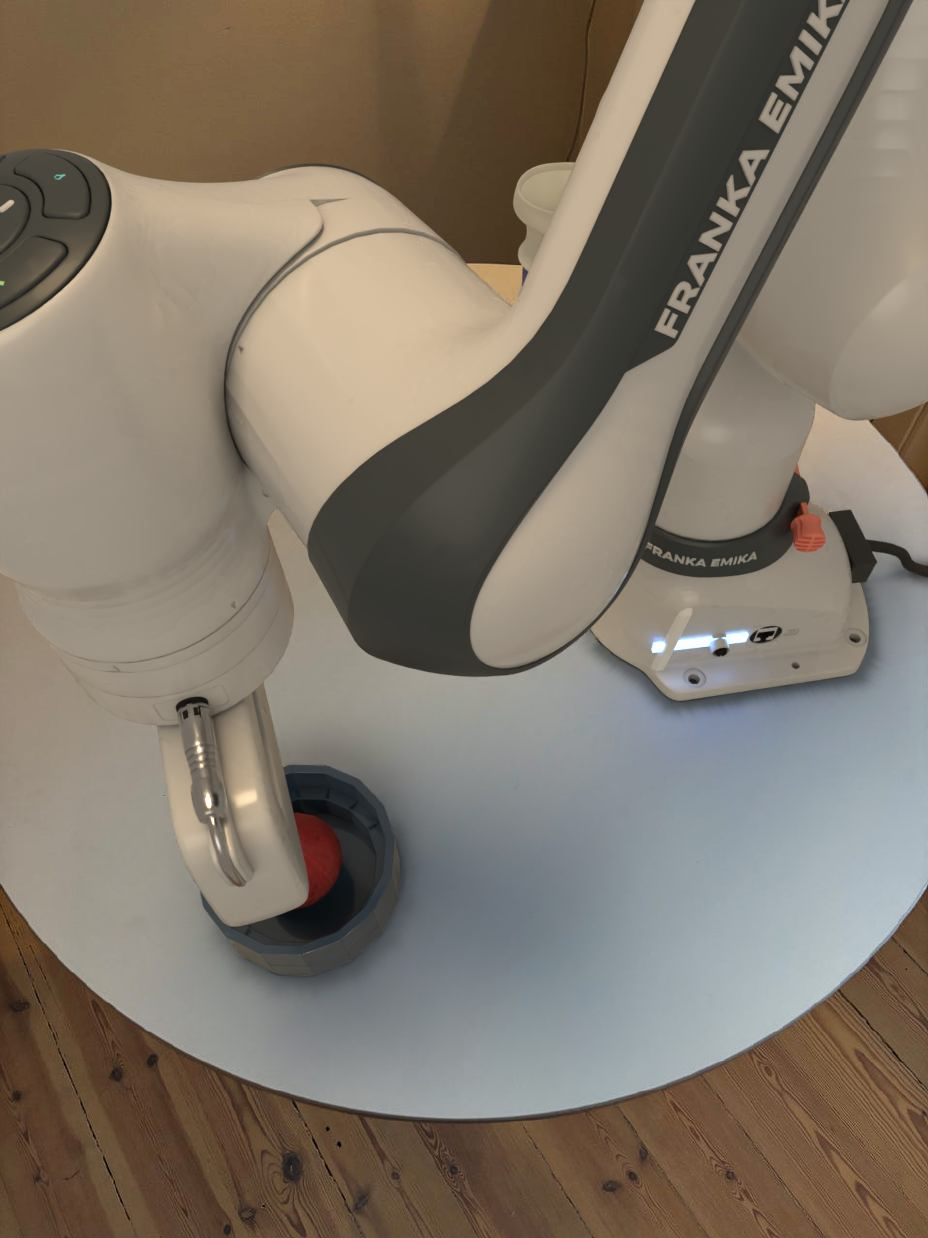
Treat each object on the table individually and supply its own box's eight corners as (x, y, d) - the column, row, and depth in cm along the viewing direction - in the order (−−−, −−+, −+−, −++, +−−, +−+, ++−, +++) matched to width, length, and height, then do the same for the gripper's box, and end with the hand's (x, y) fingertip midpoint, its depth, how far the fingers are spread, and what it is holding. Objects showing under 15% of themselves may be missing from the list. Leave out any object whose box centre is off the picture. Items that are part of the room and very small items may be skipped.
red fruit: (334, 931, 59) (314, 892, 52) (249, 913, 60) (220, 872, 53) (358, 846, 62) (343, 799, 56) (278, 830, 63) (253, 781, 56)
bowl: (407, 800, 65) (400, 766, 60) (393, 981, 58) (384, 958, 53) (236, 795, 65) (217, 762, 61) (202, 974, 58) (178, 951, 54)
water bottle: (586, 342, 92) (614, 82, 72) (599, 401, 87) (634, 139, 67) (504, 348, 92) (510, 88, 71) (513, 407, 87) (522, 146, 66)
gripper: (310, 824, 30) (365, 937, 41) (211, 411, 41) (277, 590, 52) (117, 885, 29) (228, 983, 41) (69, 446, 40) (167, 621, 52)
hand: (255, 759), depth 47 cm, fingers open, 8 cm apart
